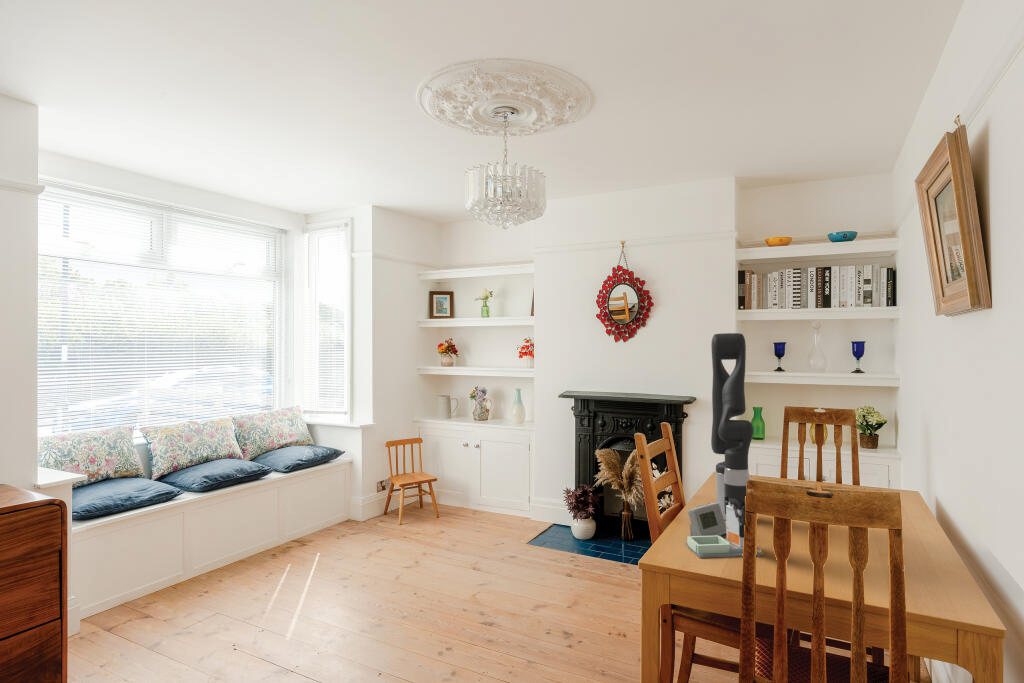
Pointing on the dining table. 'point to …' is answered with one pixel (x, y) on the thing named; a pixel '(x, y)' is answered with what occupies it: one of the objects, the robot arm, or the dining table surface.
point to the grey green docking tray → (714, 547)
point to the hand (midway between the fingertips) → (737, 533)
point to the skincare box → (733, 527)
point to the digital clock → (707, 520)
